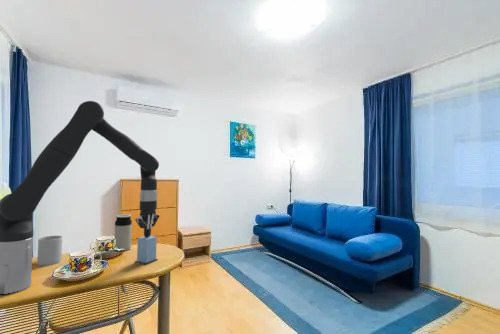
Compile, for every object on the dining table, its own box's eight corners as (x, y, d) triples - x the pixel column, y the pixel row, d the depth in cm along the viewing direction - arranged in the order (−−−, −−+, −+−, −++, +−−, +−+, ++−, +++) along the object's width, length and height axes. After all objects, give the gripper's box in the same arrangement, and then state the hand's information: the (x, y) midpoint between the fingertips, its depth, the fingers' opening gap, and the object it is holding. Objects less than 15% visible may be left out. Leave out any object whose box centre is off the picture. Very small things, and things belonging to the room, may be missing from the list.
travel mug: (134, 247, 135) (135, 214, 136) (122, 252, 127) (123, 217, 128) (122, 246, 137) (123, 213, 138) (110, 250, 130) (111, 216, 130)
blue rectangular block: (146, 263, 112) (147, 239, 112) (137, 261, 114) (137, 238, 115) (156, 259, 117) (156, 236, 118) (146, 257, 120) (147, 235, 120)
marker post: (146, 264, 111) (146, 248, 111) (134, 262, 114) (135, 246, 114) (157, 259, 118) (158, 244, 118) (146, 257, 120) (147, 242, 120)
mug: (59, 264, 110) (60, 239, 110) (34, 267, 106) (35, 241, 106) (64, 255, 120) (65, 233, 121) (42, 258, 116) (43, 234, 117)
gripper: (152, 198, 124) (151, 232, 124) (130, 200, 112) (129, 239, 111) (164, 198, 121) (163, 234, 121) (143, 201, 109) (142, 241, 108)
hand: (147, 236), depth 116 cm, fingers closed
